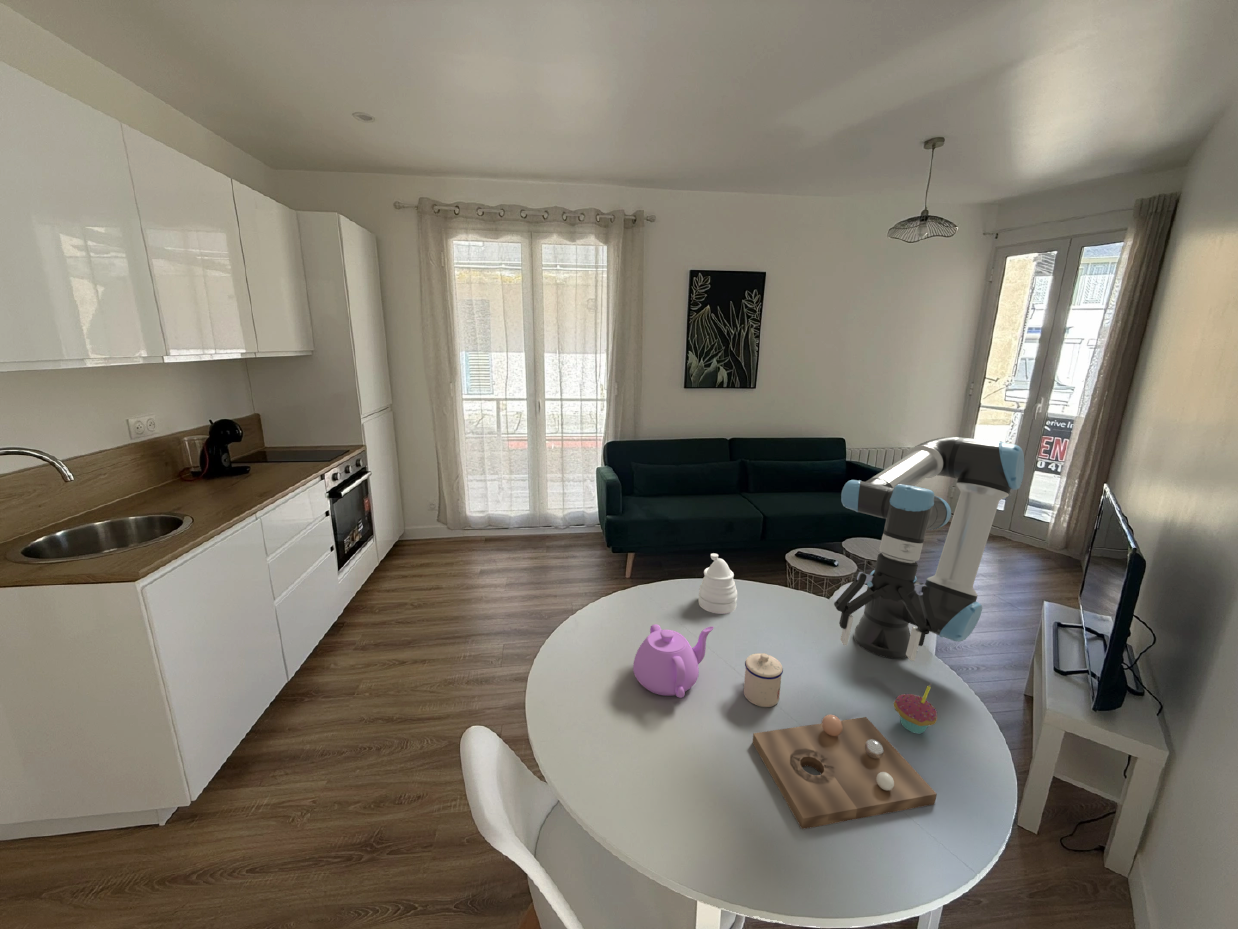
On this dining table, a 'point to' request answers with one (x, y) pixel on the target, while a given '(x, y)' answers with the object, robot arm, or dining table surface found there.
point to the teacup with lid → (762, 679)
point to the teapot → (669, 661)
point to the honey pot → (718, 588)
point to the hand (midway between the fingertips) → (876, 650)
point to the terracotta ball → (832, 725)
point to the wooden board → (839, 773)
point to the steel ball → (874, 749)
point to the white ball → (885, 781)
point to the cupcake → (915, 711)
